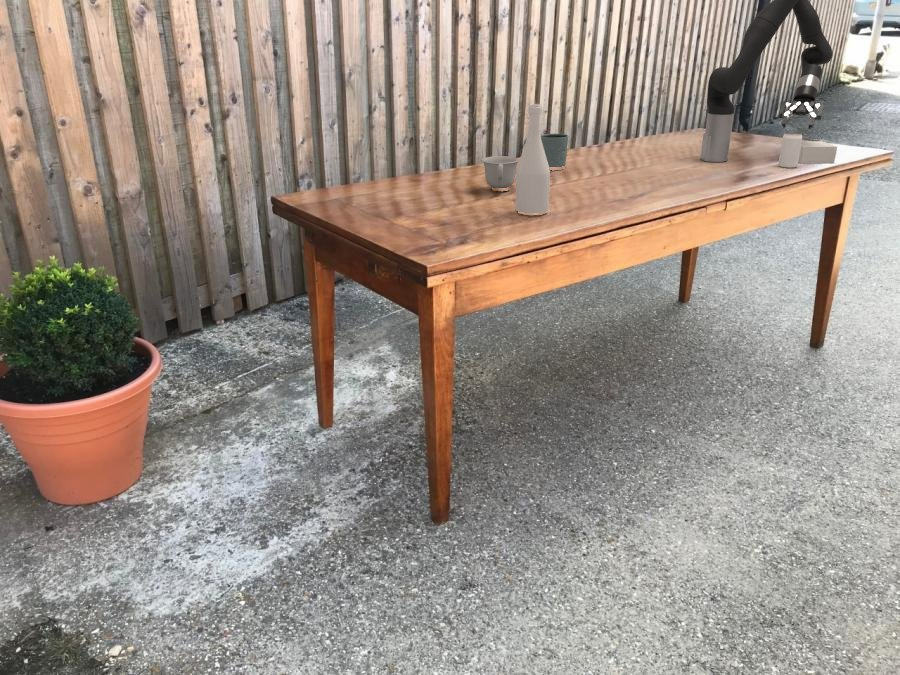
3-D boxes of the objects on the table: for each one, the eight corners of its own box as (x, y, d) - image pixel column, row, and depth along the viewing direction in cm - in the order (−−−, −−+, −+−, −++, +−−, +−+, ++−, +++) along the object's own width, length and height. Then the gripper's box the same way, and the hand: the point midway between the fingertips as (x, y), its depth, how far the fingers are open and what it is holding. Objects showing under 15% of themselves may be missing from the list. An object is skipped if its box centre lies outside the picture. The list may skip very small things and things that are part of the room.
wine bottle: (547, 208, 212) (551, 102, 200) (549, 217, 204) (553, 106, 191) (515, 208, 213) (517, 102, 201) (515, 217, 204) (517, 106, 192)
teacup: (481, 196, 228) (481, 164, 224) (481, 186, 241) (481, 156, 237) (519, 196, 227) (520, 164, 223) (518, 186, 240) (518, 155, 236)
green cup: (568, 171, 262) (570, 137, 257) (540, 171, 262) (542, 137, 257) (564, 165, 271) (566, 133, 266) (537, 166, 271) (538, 133, 266)
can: (800, 168, 259) (806, 133, 254) (782, 168, 259) (787, 134, 254) (792, 164, 265) (798, 131, 260) (775, 164, 265) (780, 131, 260)
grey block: (801, 163, 267) (804, 147, 264) (788, 157, 277) (790, 141, 275) (834, 163, 266) (837, 146, 264) (819, 157, 277) (822, 141, 275)
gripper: (786, 83, 267) (775, 119, 263) (828, 84, 260) (818, 121, 256) (785, 97, 273) (775, 132, 269) (827, 98, 267) (817, 134, 262)
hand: (796, 126), depth 263 cm, fingers open, 8 cm apart
